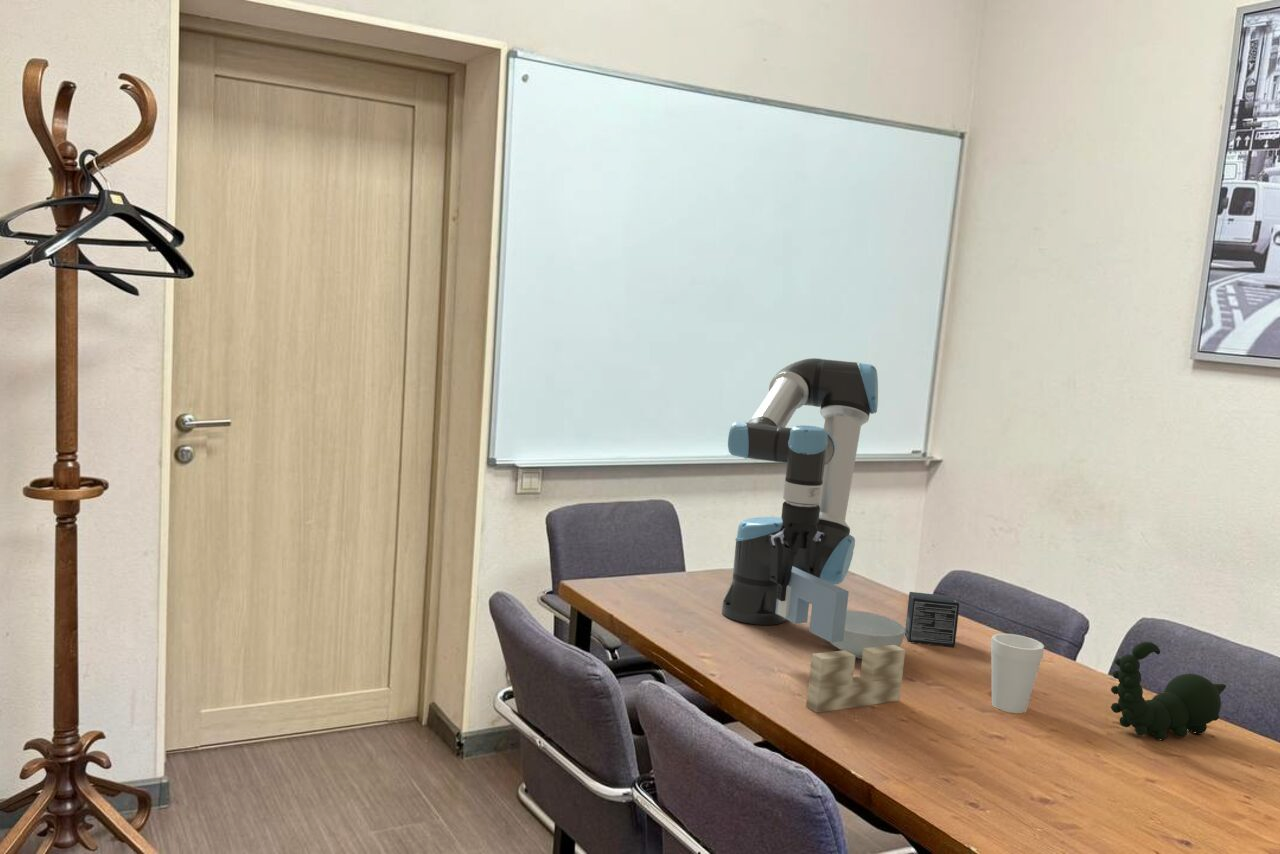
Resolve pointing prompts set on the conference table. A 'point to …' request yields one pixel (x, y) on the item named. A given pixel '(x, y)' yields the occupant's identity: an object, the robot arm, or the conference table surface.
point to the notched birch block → (855, 678)
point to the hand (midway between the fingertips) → (790, 614)
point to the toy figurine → (1164, 699)
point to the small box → (932, 619)
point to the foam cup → (1014, 670)
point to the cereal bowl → (869, 632)
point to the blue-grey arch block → (817, 605)
